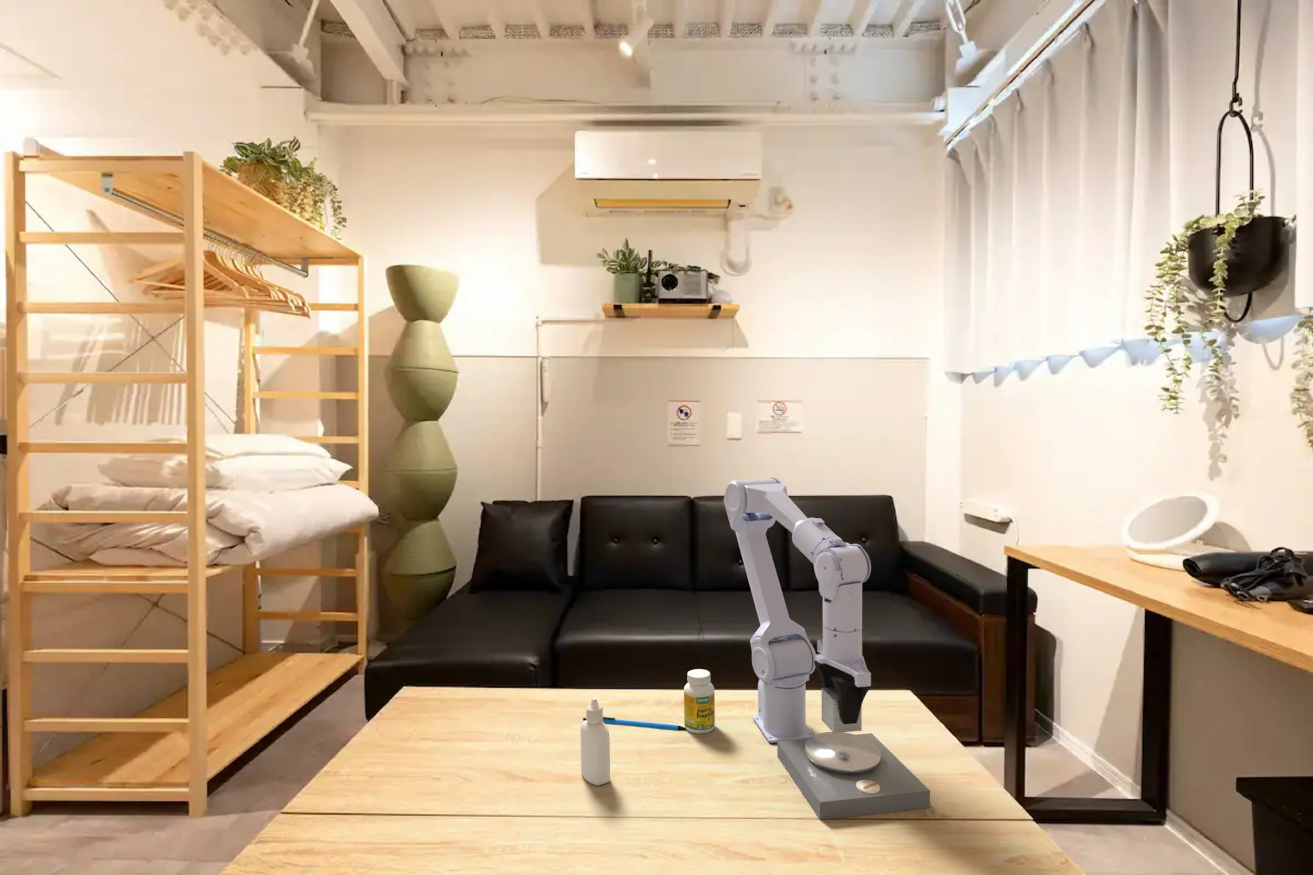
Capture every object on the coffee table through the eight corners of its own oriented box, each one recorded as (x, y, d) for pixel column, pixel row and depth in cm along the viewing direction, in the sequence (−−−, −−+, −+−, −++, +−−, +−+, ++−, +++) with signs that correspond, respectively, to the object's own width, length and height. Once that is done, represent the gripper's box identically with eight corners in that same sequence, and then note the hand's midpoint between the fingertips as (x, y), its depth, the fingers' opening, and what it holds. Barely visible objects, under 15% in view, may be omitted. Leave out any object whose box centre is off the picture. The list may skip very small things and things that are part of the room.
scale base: (777, 756, 107) (777, 739, 107) (871, 747, 110) (871, 731, 109) (819, 819, 90) (819, 799, 90) (929, 807, 93) (930, 788, 93)
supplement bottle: (702, 717, 121) (702, 664, 121) (721, 729, 117) (720, 674, 116) (678, 725, 118) (677, 671, 118) (696, 737, 114) (695, 681, 113)
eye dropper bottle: (609, 766, 105) (608, 690, 104) (610, 786, 99) (609, 705, 99) (581, 767, 104) (580, 691, 104) (580, 787, 99) (579, 707, 98)
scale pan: (794, 739, 106) (794, 734, 106) (860, 733, 108) (860, 728, 108) (822, 776, 96) (822, 771, 95) (894, 769, 97) (894, 763, 97)
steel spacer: (821, 719, 103) (821, 687, 103) (848, 717, 104) (848, 685, 104) (833, 733, 99) (833, 699, 99) (861, 730, 100) (861, 697, 100)
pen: (584, 720, 121) (584, 713, 121) (688, 730, 117) (688, 723, 117) (582, 722, 120) (582, 716, 120) (687, 732, 116) (687, 726, 116)
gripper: (799, 613, 108) (799, 697, 108) (837, 643, 93) (837, 740, 94) (840, 611, 109) (840, 694, 109) (884, 640, 94) (884, 736, 95)
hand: (842, 715), depth 102 cm, fingers closed on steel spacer, 4 cm apart
